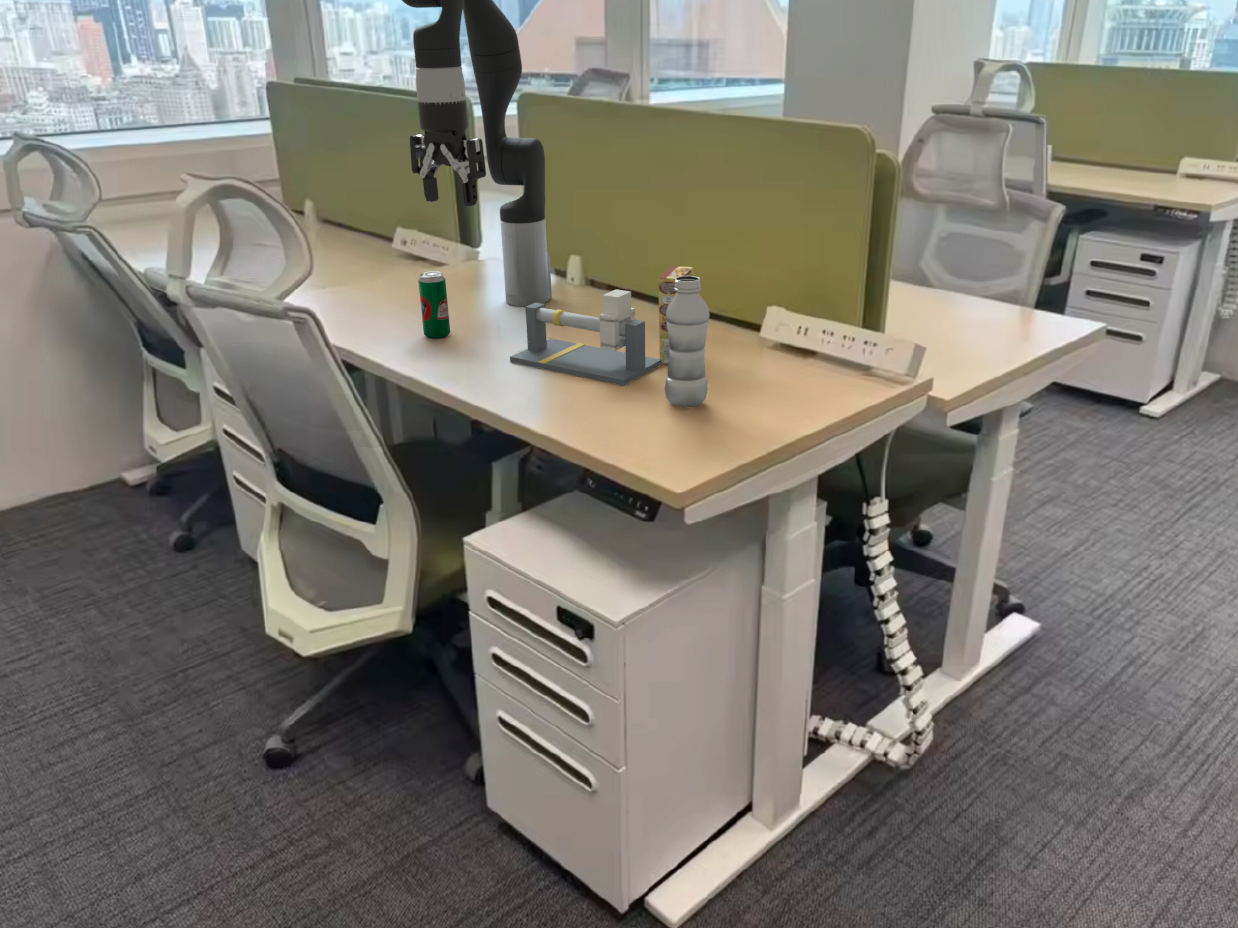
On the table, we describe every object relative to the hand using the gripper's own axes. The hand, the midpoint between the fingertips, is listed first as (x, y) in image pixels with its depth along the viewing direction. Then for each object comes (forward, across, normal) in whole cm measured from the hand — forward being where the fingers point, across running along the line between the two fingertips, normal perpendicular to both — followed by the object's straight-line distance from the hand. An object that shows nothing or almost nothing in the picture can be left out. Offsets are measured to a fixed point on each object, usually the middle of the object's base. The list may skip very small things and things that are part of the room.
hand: (451, 203), depth 164 cm
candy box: (+28, -29, -24) cm, 47 cm away
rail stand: (+28, -17, -12) cm, 35 cm away
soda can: (+28, +17, -10) cm, 35 cm away
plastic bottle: (+28, -42, -5) cm, 51 cm away
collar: (+23, -24, -13) cm, 36 cm away
